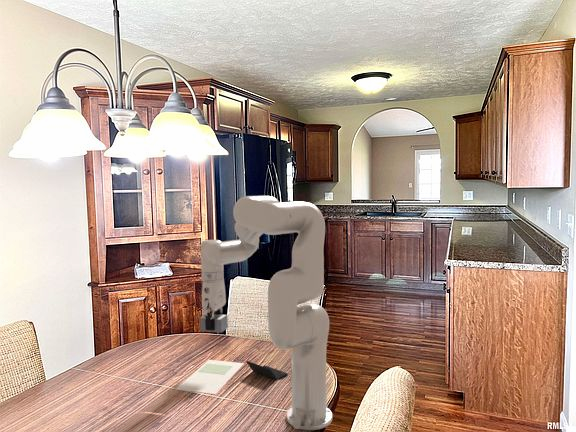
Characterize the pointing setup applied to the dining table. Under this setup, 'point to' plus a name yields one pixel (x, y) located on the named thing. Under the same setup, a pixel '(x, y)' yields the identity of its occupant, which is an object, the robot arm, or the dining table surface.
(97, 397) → the dining table surface
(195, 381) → the mat
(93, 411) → the dining table surface
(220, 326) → the card box
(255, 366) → the handheld gaming console
